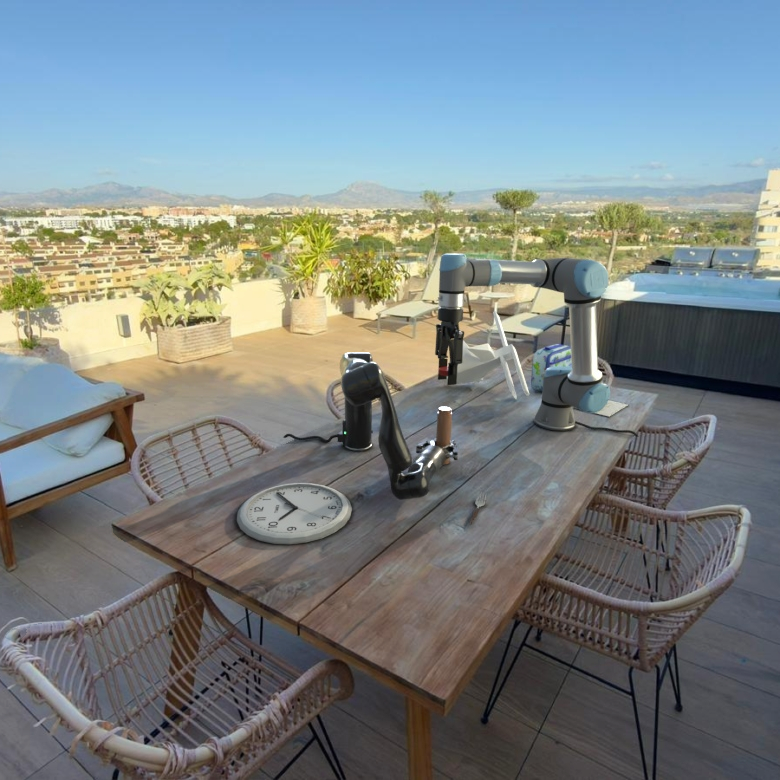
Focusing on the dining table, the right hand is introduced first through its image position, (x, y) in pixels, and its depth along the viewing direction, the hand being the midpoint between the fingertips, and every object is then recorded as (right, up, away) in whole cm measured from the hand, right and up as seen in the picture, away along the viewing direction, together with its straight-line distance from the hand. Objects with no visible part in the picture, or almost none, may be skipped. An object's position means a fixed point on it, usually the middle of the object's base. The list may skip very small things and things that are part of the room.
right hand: (447, 381), depth 163 cm
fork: (+5, -36, -22) cm, 42 cm away
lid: (0, +4, -1) cm, 4 cm away
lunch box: (+60, -2, +88) cm, 107 cm away
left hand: (0, -19, +9) cm, 21 cm away
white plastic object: (+24, -4, +80) cm, 84 cm away
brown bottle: (-1, -26, +8) cm, 27 cm away
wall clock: (-43, -35, -24) cm, 60 cm away
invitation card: (+74, -10, +64) cm, 98 cm away
